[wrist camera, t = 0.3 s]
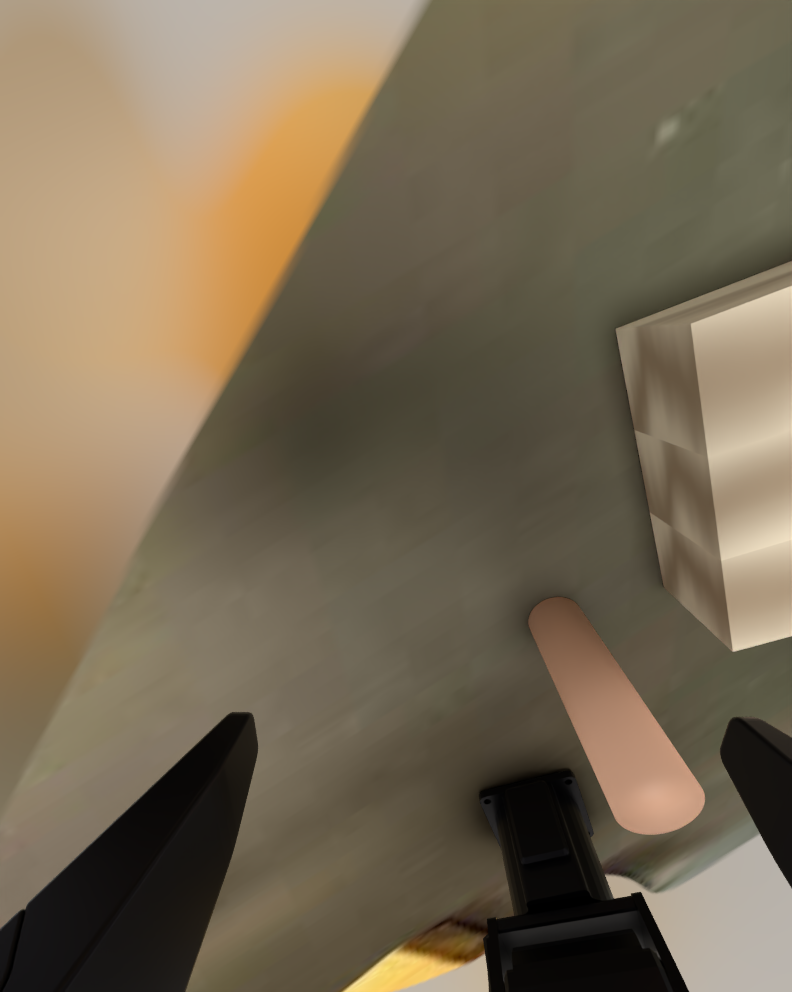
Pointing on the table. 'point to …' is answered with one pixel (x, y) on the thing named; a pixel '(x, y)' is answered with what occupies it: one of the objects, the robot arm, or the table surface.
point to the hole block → (720, 451)
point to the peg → (614, 725)
